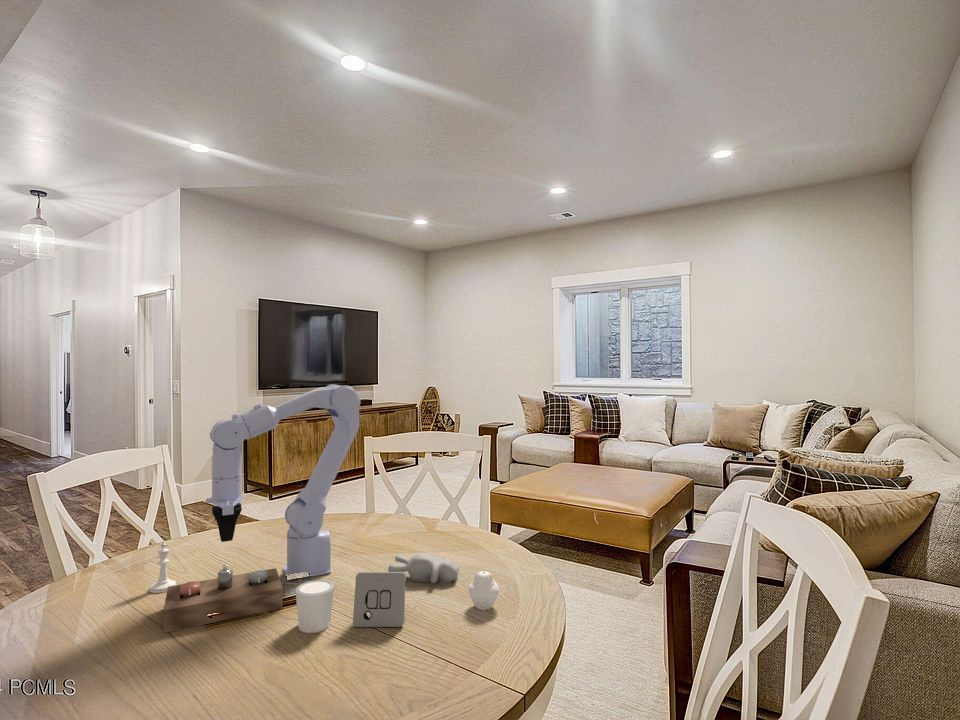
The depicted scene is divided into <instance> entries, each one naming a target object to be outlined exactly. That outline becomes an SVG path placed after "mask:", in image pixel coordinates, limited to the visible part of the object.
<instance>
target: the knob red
mask: <svg viewBox="0 0 960 720" xmlns="http://www.w3.org/2000/svg"><path fill="white" fill-rule="evenodd" d="M182 584H183V585H181V586H180V594H181V595H183V598H188V597H193V596H197V593H198V592H199V591H200V582H198V581H188V582H185V583H182Z"/></svg>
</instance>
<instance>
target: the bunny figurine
mask: <svg viewBox="0 0 960 720" xmlns="http://www.w3.org/2000/svg"><path fill="white" fill-rule="evenodd" d="M394 561H396V562H398V563H397V564H396V563H393V564H388V569H387V572H406V573H408V575H409V577H410V579H411V581H414V582H418V583H428V582H430V583H431V584H436V583H437V582H439V583H440V584H449V583H451V582H452V581H453V580H457V578H458V575H459V570H460V565H457V564H456V563H455V562H454V561H453V560H452V559H450V558H444V557H442V556H434V555H433V554H431V553H428V552H417V553H416V554H415V555H413V556H412V557H410V558H409V557H407V556H404V555H402V554H396V555H394ZM399 563H400V564H399ZM401 563H402V564H401Z"/></svg>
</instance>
